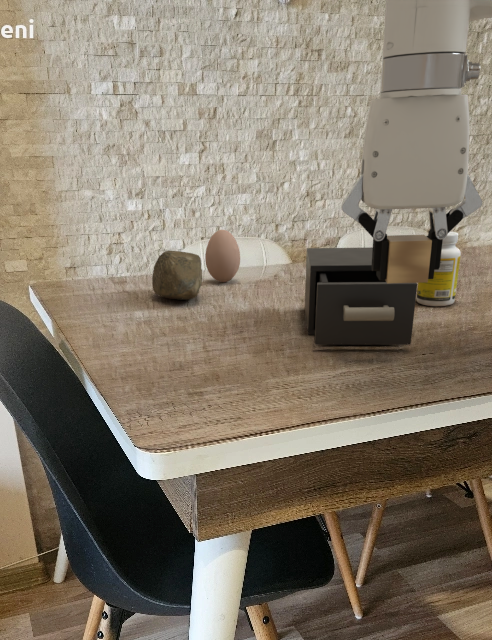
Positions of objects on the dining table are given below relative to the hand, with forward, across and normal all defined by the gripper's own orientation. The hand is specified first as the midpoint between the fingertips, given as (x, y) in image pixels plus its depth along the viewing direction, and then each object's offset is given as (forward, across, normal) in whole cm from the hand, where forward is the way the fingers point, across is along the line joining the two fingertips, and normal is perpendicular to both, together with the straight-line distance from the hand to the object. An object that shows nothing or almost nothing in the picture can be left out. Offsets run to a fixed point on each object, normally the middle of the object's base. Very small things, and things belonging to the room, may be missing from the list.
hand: (404, 275), depth 72 cm
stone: (+12, +32, -45) cm, 56 cm away
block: (0, 0, 0) cm, 0 cm away
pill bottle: (+13, -12, -40) cm, 43 cm away
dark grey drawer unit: (+12, +2, -28) cm, 30 cm away
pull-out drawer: (+11, +2, -17) cm, 20 cm away
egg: (+12, +24, -59) cm, 65 cm away
